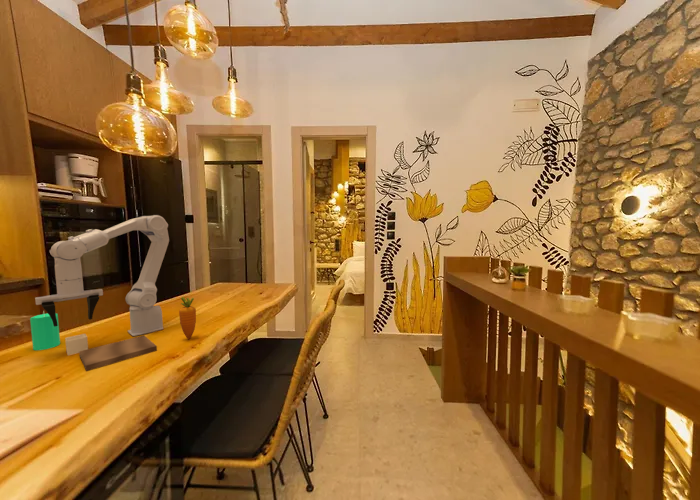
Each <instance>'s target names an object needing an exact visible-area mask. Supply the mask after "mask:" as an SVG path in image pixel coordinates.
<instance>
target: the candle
mask: <svg viewBox="0 0 700 500" xmlns="http://www.w3.org/2000/svg"><path fill="white" fill-rule="evenodd" d="M56 319H57V325H58V326H54V325H53V321H52V319H51V317H50V316H49V314H48V313H47V312H46V313H45V310H43V312H42V314H37V315H34V316H32V317H30V318H29V321H30V322H29V323H30V333H31V341H32V342H31V343H32V350H33V351H42V350H49V349H53V348H55V347H58V346H60V344H61V337H60V336H61V335H60V325H59V315H58V313H56Z"/></svg>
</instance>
